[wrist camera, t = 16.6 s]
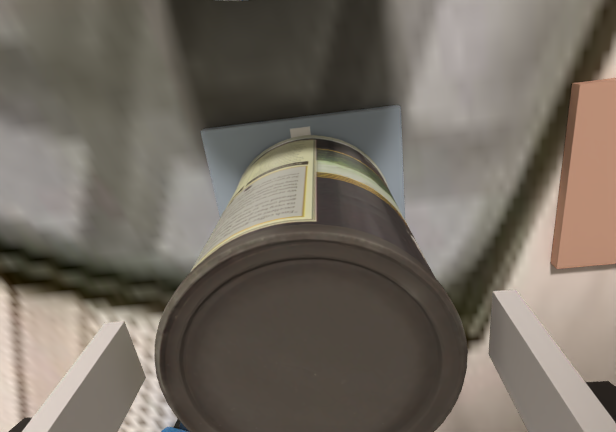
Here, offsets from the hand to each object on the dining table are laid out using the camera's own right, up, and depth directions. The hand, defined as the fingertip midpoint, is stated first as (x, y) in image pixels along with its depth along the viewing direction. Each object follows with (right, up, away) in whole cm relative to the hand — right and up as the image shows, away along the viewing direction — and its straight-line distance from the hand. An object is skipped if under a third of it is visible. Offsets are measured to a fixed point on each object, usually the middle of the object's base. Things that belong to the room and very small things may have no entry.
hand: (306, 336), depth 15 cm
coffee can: (0, +5, +12) cm, 13 cm away
